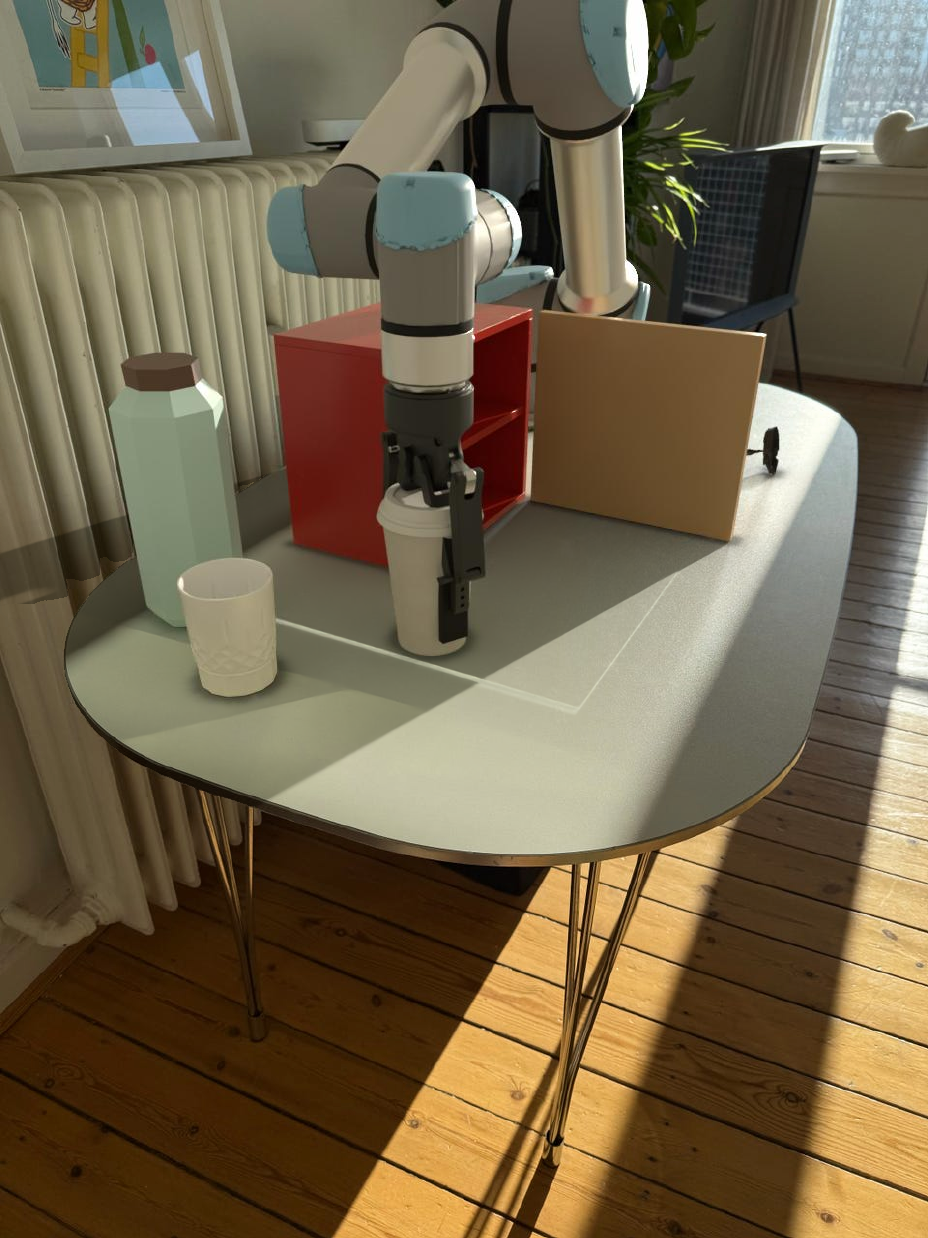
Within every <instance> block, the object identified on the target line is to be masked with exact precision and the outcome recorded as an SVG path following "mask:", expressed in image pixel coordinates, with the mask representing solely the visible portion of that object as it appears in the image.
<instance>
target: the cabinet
mask: <svg viewBox="0 0 928 1238" xmlns="http://www.w3.org/2000/svg"><path fill="white" fill-rule="evenodd" d="M532 317H533V309H531V308H522V307H512V306H503V305H493V304H484V303H476V302H474V327H473V336H474V343H473V375H472V376H471V377H470V379H468V381H469V382H470V383H471V384H472V385H473V388H474V393H473V423H472V425H471V427H470V428H469V429H468V430H466V431H465V432H464V433H463V435H462V436H461V438H460V442H461V448H462V452H463V457H464V460H463V462H464V463H465V464H466V465H467V466H468V467H469V468H470V469H472V468H477V467H480V468H481V469H482V470H483V473H484V481H483V487H482V493H481V501H482V510H483V514H484V517H483V532H484V531H486V530H487V529H488V528H490V527H491V526H493V524H495V523H496V522H498V521H499V520H500V519H501V518H502V517H503V516H505V515H506V514H508V513H509V512H510V511H511V510H512V509H513V508H515V507H516V506H517V505H518V504H520V503H521V502H523V500H524V499H526V491H527V489H526V488H527V469H528V467H527V466H528V446H529V445H528V442H529V430H528V421H529V397H530V373H531V349H532V325H533V318H532ZM272 336H273V346H274V356H275V357H274V358H275V366H276V377H277V387H278V396H279V408H280V417H281V418H280V419H281V428H282V437H283V448H284V459H285V460H284V461H285V468H286V480H287V489H288V500H289V510H290V511H289V512H290V519H291V520H290V521H291V531H292V539H293V544H294V545H297V546H301V547H306V548H310V549H314V550H318V551H321V552H325V553H330V554H334V555H336V556H337V555H338V556H342V557H346V558H350V559H353V560H357V561H362V562H366V563H370V564H374V565H378V566H381V567H384V568H385V567H386V568H389V565H388V558H387V551H386V544H385V537H384V530H383V526H382V525H381V524H380V523H379V522H378V520H377V513H378V508H379V506H380V503H381V501H382V500H383V449H382V442H381V432H383V431H388V430H390V429H389V428H388V427H387V426H386V424H385V419H384V393H383V387H384V385H385V384H386V383H387V382H388V381H389V380H387V379H385V378H384V377H383V376H382V353H381V301H379V302H376V303H373V304H369V305H366V306H362V307H360V308H356V309H353V310H349V311H346V312H343V313H340V314H336V315H333V316H330V317H326V318H323V319H320V320H317V321H313V322H310V323H307V324H303V325H301V326H297V327H294V328H290V329H286V330H284V331H281V332H277V333H274V334H273V335H272Z"/></svg>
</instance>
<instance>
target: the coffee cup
mask: <svg viewBox="0 0 928 1238" xmlns="http://www.w3.org/2000/svg"><path fill="white" fill-rule="evenodd" d="M449 491H450V489H448V490H444V491H439V492H434V493H435V495H438V494H443V493H447V492H449ZM483 517H484V514H483V510H482V519H483ZM377 520H378V522H379V523H380V524H381V525H382V526H383V530H384V537H385V544H386V551H387V558H388V565H389V567H388V572H389V579H390V586H391V594H392V601H393V602H392V603H393V608H394V609H393V610H394V616H395V623H396V632H397V638H398V643H399V645H400V646H401V647H402V648H403V649H404V650H405V651H407V652H410V653H412V654H415V655H419V656H425V657H426V656H427V657H437V656H443V655H448V654H451V653H454V652H456V651H458V650H460V649H462V647H463V646H464V645H465V643H466V640H467V637H464V638H461V639H458V640H455V641H452V642H448V643H445V644H442V643H441V642H440V641H439V628H438V588H439V583H438V581H437V578H438V577H441V576H444V574H443V569H442V564H441V562H442V541H443V537H445V538H452V534H451V520H450V506H445V507H440V508H436V507H433V508H431V507H430V506H428V505H426V504H425V502H424V499H423V494H422V489H421V488H419V489H415V490H410V491H405V490H403V489H402V487H401V486H400V484H399V483H396V484H394V485H392V486H391V487H389V488H388V489H387V491H386V493H385V497H384V499H383V500H382V501H381V503H380V506H379V508H378V513H377ZM472 583H473V581H470V582H469V603H470V602H471V591H472ZM469 610H470V608H469V609H468V613H469Z"/></svg>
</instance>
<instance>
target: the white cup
mask: <svg viewBox="0 0 928 1238" xmlns="http://www.w3.org/2000/svg"><path fill="white" fill-rule="evenodd" d="M177 587H178V592H179V596H180V600H181V605H182V609H183V614H184V618H185V622H186V626H187V627H186V631H187V634H188V635H187V636H188V639H189V644H190V647H191V650H192V655H193V659H194V660H195V662H196V666H197V669H198V673H199V678H200V682H201V686H202V688H203V689H205V690H206V691H208V692H209V693H210V694H212V695H217V696H222V697H227V698H232V697H233V698H234V697H242V696H243V697H244V696H245V697H246V696H248V695H251V694H255V693H257V692H261V691H263V690H264V689H265V688H266V687H268V686H269V685H271V684H272V683H273V682H274V680H275V678H276V676H277V674H278V662H277V651H276V649H277V631H276V629H277V622H276V621H277V620H276V604H275V590H274V589H275V588H274V573H273V571H272V568H270V566H268V564H266V563H264V562H262V561H260V560H256V559H252V558H246V557H245V558H244V557H243V558H223V559H216V560H211V561H207V562H204V563H201V564H198V565H196V566H193V567H191V568H190V569H188V570H186V571H185V572H184V573H183V574H182V575H181V576H180V577H179V579H178V581H177Z"/></svg>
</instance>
